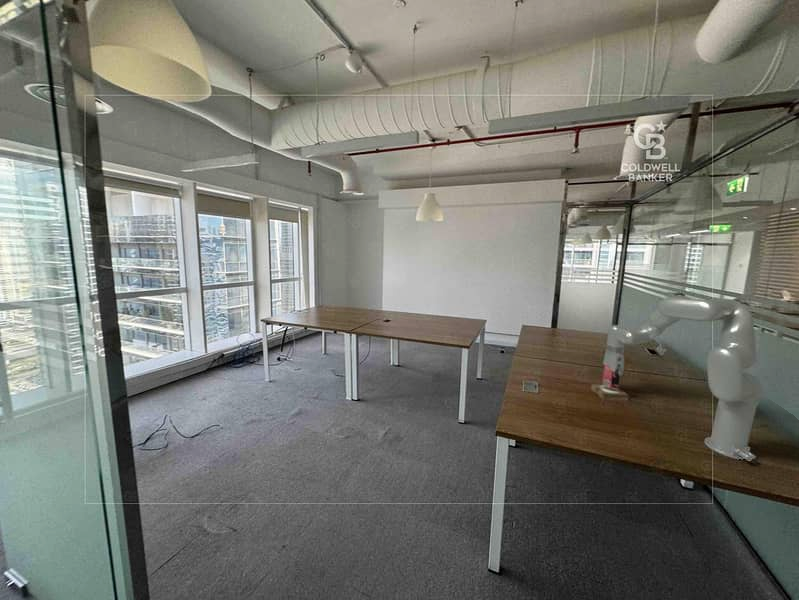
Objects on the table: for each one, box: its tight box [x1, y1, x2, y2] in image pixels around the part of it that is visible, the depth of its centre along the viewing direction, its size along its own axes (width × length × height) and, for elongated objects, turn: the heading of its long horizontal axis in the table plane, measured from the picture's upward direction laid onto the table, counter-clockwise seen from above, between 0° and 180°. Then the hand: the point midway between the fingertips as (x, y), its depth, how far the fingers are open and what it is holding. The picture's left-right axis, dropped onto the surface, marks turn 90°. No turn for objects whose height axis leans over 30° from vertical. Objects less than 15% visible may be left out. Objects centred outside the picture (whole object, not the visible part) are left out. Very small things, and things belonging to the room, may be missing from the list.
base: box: [590, 383, 630, 402], centre depth 162 cm, size 12×12×3 cm
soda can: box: [602, 364, 619, 389], centre depth 160 cm, size 7×7×12 cm
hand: (610, 380), depth 161 cm, fingers closed on soda can, 7 cm apart
